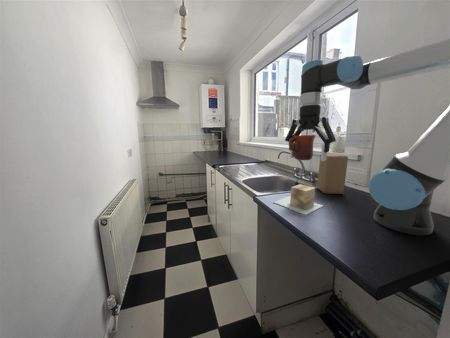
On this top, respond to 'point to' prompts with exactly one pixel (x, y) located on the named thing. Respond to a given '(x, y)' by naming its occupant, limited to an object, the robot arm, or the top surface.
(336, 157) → the wooden block
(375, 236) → the top surface
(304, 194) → the oak block
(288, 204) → the board
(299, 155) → the mug
